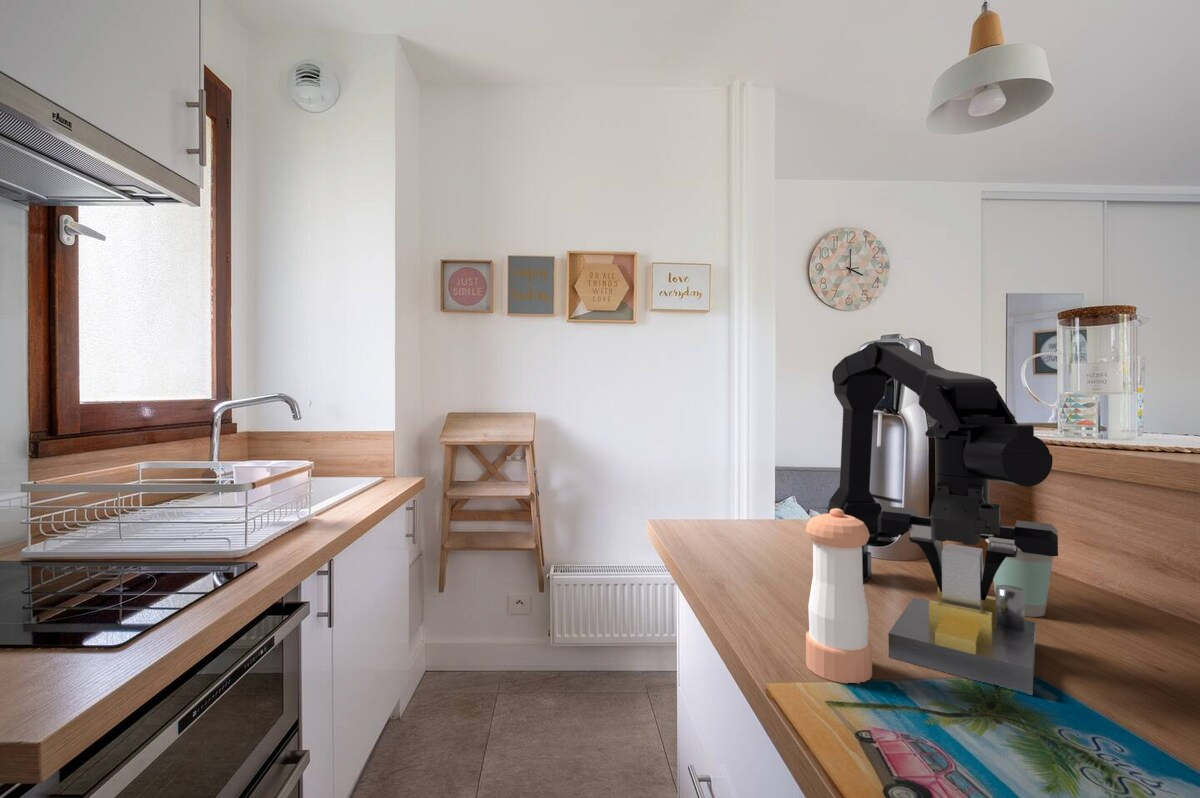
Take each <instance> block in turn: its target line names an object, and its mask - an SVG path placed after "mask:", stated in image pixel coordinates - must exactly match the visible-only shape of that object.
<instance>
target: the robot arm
mask: <svg viewBox="0 0 1200 798" xmlns="http://www.w3.org/2000/svg"><path fill="white" fill-rule="evenodd" d="M831 377H832V378H831V379H832V382H833V394H834V396H835V397H836V398H837V401H838V402H839V404H840V405H841V407H842V425H841V426H842V431H841V448H840V449H841V452H840V471H839V473H840V474H839V476H840V477H839V487H838V488H837V489H836V490H835V492H834V493H833V495H832V496H831V497H830V498H829V503H828V510H827V513H826V514H830V513H829V512H830V510H831V509H834V508H837V509H841V510H843V512H844V515H849V516H853V517H855V518H857V519H858V520H860V521H862V522H864V524H865V525H866V527H867V529H868V531H869V535H870V537H869V539H868V542H867V543H866V544H865V545H864V546H862V570H863V583H864V582H865V581H866V580H867V579H868V578H869V577H871V576H872V552H870V551H869V545H872V546H876V545H877V543H878V539H879V535H880V533H885V534H890V535H897V536H898V535H899V536H904V535H905V534H907V533H908V532H910V536H909V538H908V540H909V542H910V543H912V544H917V545H918V546H919V548H920V549H921V550H922V552H923V554H924V555H925V557H926V559H927V561H928V563H929V566H930V569H931V571H932V573H933V576H934V579H935V582H936V584H937V586H938V587H939V589H940V592H942V549H943V542H947V541H948V542H953V543H955V542H956V543H962V544H963V545H964V546H976V545H979V544H980V543H981V539H985V540H986V539H989V542H990V543H989V545H987V548H986V551H985V560H984V565H983V579H982V585H981V600H984V601H985V600H986V597H987V596H988V594H989V591H990V589H991V586H992V583H993V582H994V581H993V579H994V576H995V574H996V572H997V570H998V569H999V567H1000V565H1001V564H1002V562H1003V561H1004V559H1005V558H1006V557H1017V554H1018V549H1020V550H1021V551H1022V552H1024V553H1031V554H1038V555H1045V556H1053V557H1058V556H1059V536H1058V529H1057V528H1056V527H1055V526H1054V525H1053V524H1052V523H1046V522H1045V523H1043V522H1035V521H1027V520H1026V521H1025V520H1017V519H1016V520H1015V521H1016V522H1015V523H1014V526H1008V525H1001V524H1002V521H1001V519H1002V517H1001V515H1002V514H1001V507H1000V506H1001V505H1000V504H995V503H990V481H995V482H1000V483H1005V484H1009V485H1010V484H1011V485H1015V486H1021V487H1025V488H1026V487H1033V486H1037V485H1039V484H1041V483H1043V482H1044V481H1045V480H1046V479H1047V478H1048V476H1049V474H1050V473H1051V471H1052V468H1053V455H1052V454H1051V452H1050V449H1049V448H1048V446H1047V445H1046V443H1045V441H1043V440H1042V439H1040V438H1039V437H1037V436H1035V432H1034V431H1035V430H1034V429H1035V427H1034V425H1032V424H1018V422H1017V420H1016V417H1015V415H1014V414H1013V413H1012V412H1011V410H1010V409H1009V407H1008V405H1007V403H1005V400H1004V399H1003V398H1002V396H1001V394H1000V393H999V391H998V386H997V385H996V383H995V382H994V381H993V380H991V379H990V378H989V377H984V376H980V375H976V374H972V373H967V372H961V371H953V370H949V369H946V368H944V367H942V366H940V365H939V364H937V363H935V362H933V361H930V360H929V359H928V358H926V357H923V356H922V355H920V354H918V353H917V352H915V351H913V350H911V349H909V348H908V347H906V345H905V344H904V343H903V342H902V343H901V342H899V341H873V342H871V343H868V344H867V345H866V346H865V347H863V349H860V350H858V351H856V352H854V353H852V354H848V355H847V356H844V358H843V359H841V360H840V361H839V362H838V363H837V364H836V365H835V366H834V367H833V370H832V373H831ZM893 379H894V380H896V381H897V382H898V383H900V384H902V385H903V386H905V387H906V388H908V390H910V391H912V392H914V393H915V394H916V395H917V396H918V405H919V407H921V409H922V410H924V411H925V414H927V415H928V417H930V418H931V419H933V421H935V423H934V424H933V425H932V426H931V427H929V428H928V429H927V430H926V431H925V436H926V437H928V438H934V443H935V444H934V449H935V450H934V451H935V452H934V453H935V461H934V463H935V466H934V467H935V471H934V472H935V494H934V497H933V501H932V503H931V509H930V513H929V516H922V515H919V514H918V509H917V508H910V507H901V506H892V505H891V506H888V507H886V508H885V509H884V510H882V509H883V508H882V506H881V504H880V502H877V500H875V498H874V496H873V495H872V492H871V488H870V487H871V470H872V453H873V452H872V450H873V433H874V432H873V431H874V414H875V413H874V412H875V409H876V408H877V407H878V405H879V404H880V403H881V402H882V400H883V398H884V397H885V396H886V390H887V384H888V383H889V382H891V381H892V380H893ZM938 587H937V588H938Z"/></svg>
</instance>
